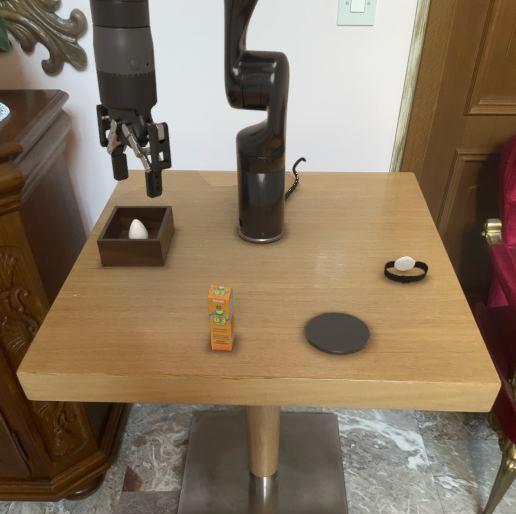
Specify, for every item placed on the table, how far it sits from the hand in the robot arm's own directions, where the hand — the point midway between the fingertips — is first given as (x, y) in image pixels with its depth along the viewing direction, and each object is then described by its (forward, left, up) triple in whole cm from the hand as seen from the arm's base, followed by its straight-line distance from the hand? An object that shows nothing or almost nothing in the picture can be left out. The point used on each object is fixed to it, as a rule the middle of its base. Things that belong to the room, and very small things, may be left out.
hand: (137, 187), depth 77 cm
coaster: (0, +32, -20) cm, 37 cm away
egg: (-15, -11, -20) cm, 27 cm away
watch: (-20, +40, -20) cm, 49 cm away
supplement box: (+8, +16, -20) cm, 27 cm away
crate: (-15, -11, -20) cm, 27 cm away
